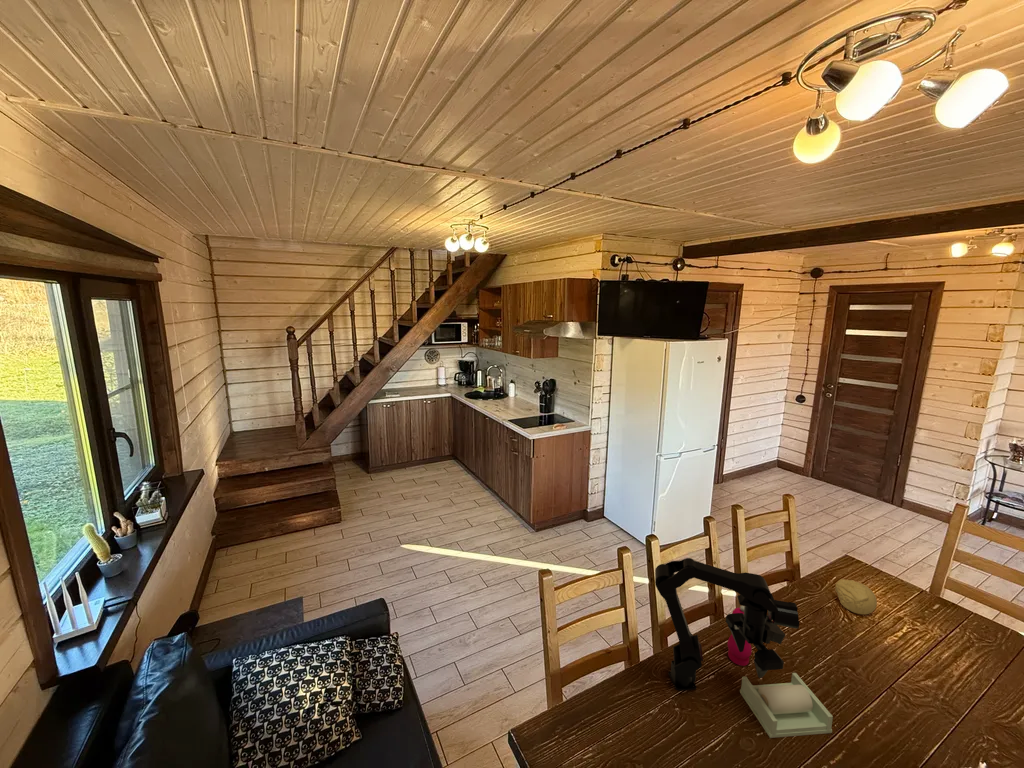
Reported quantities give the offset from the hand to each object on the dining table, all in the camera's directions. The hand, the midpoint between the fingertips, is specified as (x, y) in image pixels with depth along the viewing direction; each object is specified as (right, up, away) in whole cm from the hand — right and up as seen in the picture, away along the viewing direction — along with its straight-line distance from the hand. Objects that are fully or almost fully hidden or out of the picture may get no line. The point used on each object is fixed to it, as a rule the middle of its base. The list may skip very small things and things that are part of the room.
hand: (750, 664), depth 124 cm
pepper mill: (+5, -9, +16) cm, 20 cm away
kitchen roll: (+8, -8, -3) cm, 12 cm away
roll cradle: (+8, -12, -2) cm, 15 cm away
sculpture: (+63, -4, +38) cm, 74 cm away
